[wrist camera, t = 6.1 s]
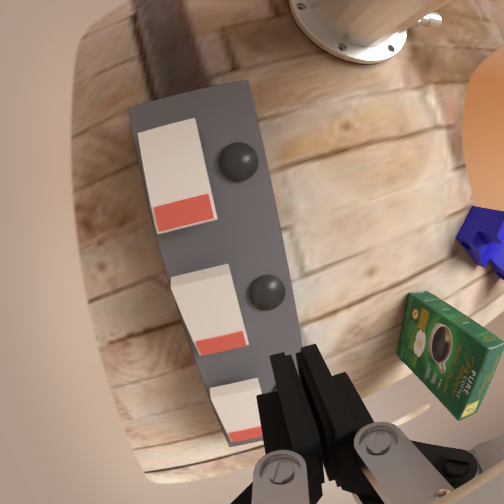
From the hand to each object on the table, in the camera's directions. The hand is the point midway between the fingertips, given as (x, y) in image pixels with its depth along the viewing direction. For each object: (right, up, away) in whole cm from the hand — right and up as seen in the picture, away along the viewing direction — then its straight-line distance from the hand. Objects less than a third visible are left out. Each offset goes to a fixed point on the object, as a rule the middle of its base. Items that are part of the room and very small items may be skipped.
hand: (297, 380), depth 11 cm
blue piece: (+27, +5, +21) cm, 35 cm away
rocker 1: (-7, +10, +11) cm, 16 cm away
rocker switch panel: (-3, +2, +17) cm, 18 cm away
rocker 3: (-3, -9, +15) cm, 18 cm away
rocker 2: (-5, +1, +13) cm, 14 cm away
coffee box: (+16, -3, +21) cm, 27 cm away
